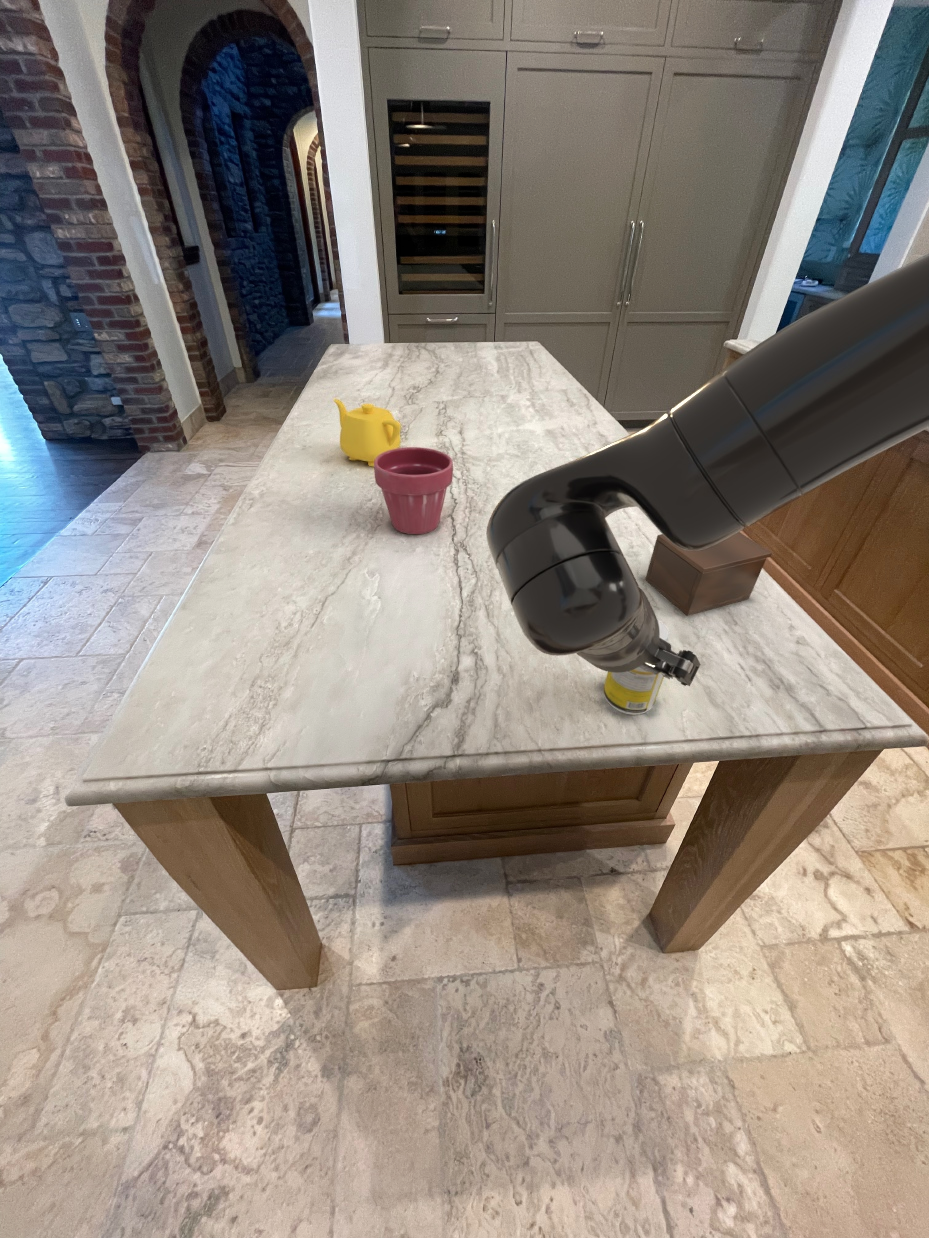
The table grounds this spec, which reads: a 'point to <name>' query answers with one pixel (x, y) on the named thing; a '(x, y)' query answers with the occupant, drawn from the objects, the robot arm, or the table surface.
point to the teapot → (367, 432)
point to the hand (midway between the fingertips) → (634, 652)
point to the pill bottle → (634, 686)
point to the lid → (720, 553)
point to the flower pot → (414, 486)
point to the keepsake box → (700, 581)
